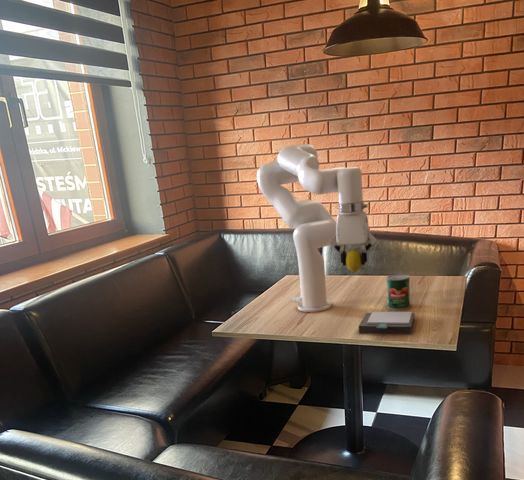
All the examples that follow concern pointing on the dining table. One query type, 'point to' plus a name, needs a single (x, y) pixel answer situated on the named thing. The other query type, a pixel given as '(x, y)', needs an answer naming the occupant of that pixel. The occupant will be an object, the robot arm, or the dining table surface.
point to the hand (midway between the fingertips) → (354, 264)
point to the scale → (387, 323)
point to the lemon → (353, 260)
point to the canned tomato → (398, 292)
